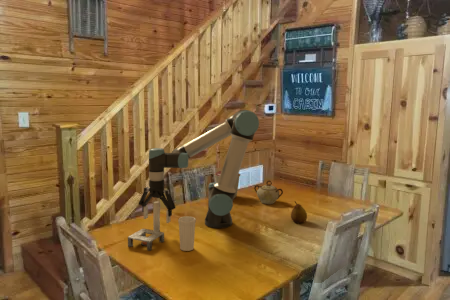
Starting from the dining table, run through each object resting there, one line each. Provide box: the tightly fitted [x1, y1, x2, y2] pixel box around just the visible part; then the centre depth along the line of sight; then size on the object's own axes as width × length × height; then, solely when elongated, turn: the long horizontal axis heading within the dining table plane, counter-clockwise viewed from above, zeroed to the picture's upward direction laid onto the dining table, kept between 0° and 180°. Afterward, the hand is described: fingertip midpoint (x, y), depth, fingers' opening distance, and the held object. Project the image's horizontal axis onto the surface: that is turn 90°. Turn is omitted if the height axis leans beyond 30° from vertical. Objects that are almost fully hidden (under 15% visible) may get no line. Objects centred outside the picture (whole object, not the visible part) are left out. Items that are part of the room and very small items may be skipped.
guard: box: [127, 228, 165, 252], centre depth 173 cm, size 12×12×5 cm
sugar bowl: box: [253, 180, 284, 205], centre depth 243 cm, size 20×15×15 cm
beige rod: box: [152, 201, 161, 232], centre depth 186 cm, size 3×3×16 cm
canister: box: [213, 170, 241, 199], centre depth 253 cm, size 18×18×21 cm
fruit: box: [290, 201, 308, 224], centre depth 207 cm, size 9×9×12 cm
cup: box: [178, 215, 197, 252], centre depth 168 cm, size 8×8×14 cm
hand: (157, 220), depth 187 cm, fingers open, 13 cm apart
